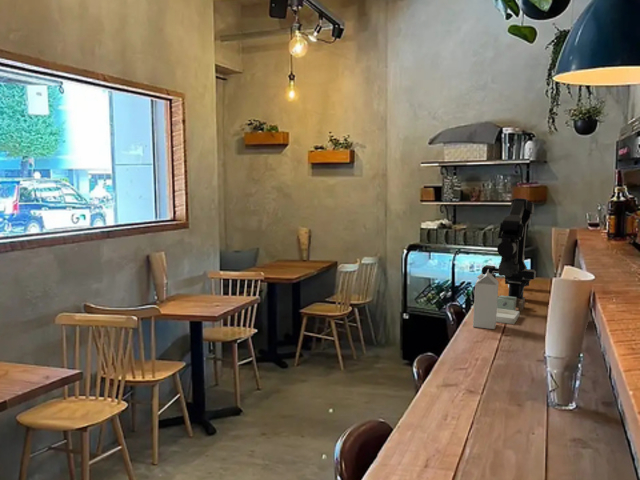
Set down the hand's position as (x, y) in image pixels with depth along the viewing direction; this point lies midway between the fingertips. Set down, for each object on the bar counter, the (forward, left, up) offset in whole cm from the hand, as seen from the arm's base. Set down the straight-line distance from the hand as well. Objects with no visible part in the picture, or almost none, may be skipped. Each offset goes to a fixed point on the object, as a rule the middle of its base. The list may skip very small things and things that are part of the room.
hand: (507, 294), depth 227 cm
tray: (+13, 0, -6) cm, 14 cm away
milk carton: (+26, -3, -6) cm, 27 cm away
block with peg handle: (+1, 0, -6) cm, 6 cm away
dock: (-6, 0, -6) cm, 9 cm away
